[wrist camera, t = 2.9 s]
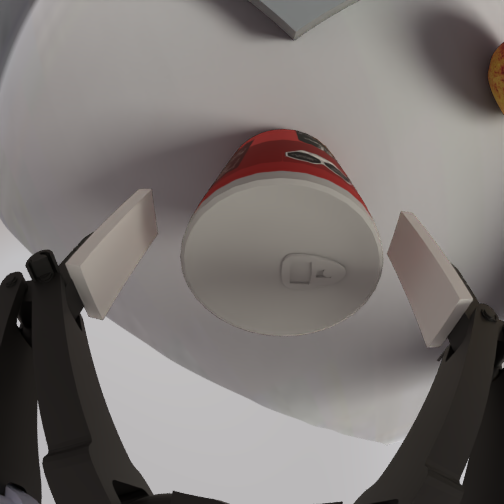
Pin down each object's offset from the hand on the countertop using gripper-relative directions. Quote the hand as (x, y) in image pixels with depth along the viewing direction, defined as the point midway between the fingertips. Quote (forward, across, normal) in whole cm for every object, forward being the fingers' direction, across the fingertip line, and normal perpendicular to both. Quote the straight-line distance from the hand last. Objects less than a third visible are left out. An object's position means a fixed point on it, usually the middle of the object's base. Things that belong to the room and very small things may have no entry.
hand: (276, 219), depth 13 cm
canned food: (+7, 0, 0) cm, 7 cm away
